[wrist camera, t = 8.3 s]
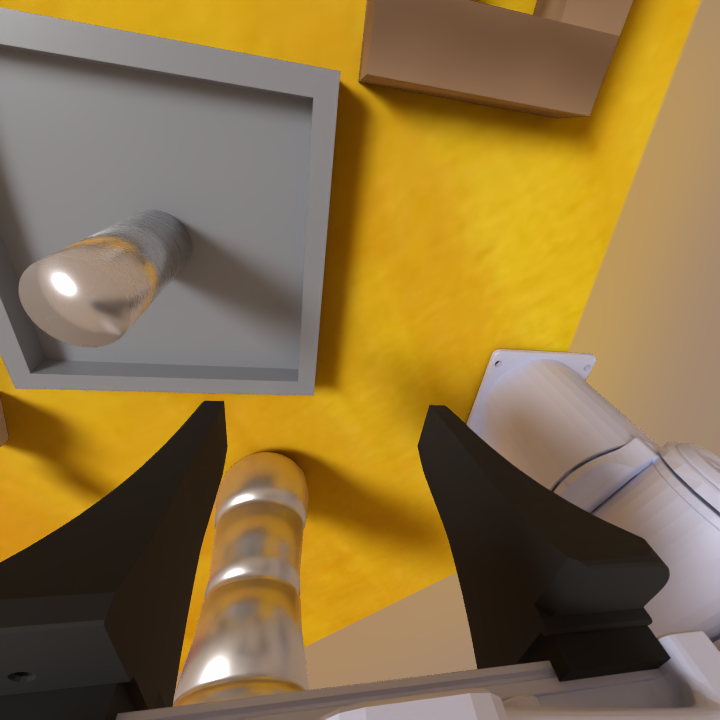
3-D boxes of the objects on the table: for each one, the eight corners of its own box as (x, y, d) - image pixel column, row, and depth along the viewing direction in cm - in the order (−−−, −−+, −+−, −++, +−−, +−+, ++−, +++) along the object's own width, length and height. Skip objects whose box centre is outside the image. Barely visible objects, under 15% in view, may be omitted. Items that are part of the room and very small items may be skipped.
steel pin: (191, 276, 19) (133, 353, 12) (128, 265, 18) (29, 340, 12) (192, 217, 18) (126, 268, 11) (123, 202, 17) (7, 247, 10)
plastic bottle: (313, 441, 27) (332, 939, 10) (303, 501, 31) (305, 949, 14) (222, 437, 26) (74, 1004, 9) (222, 500, 29) (115, 998, 12)
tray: (312, 377, 24) (313, 395, 23) (38, 368, 21) (15, 388, 20) (336, 78, 16) (340, 71, 14) (-103, -3, 13) (-163, -24, 11)
